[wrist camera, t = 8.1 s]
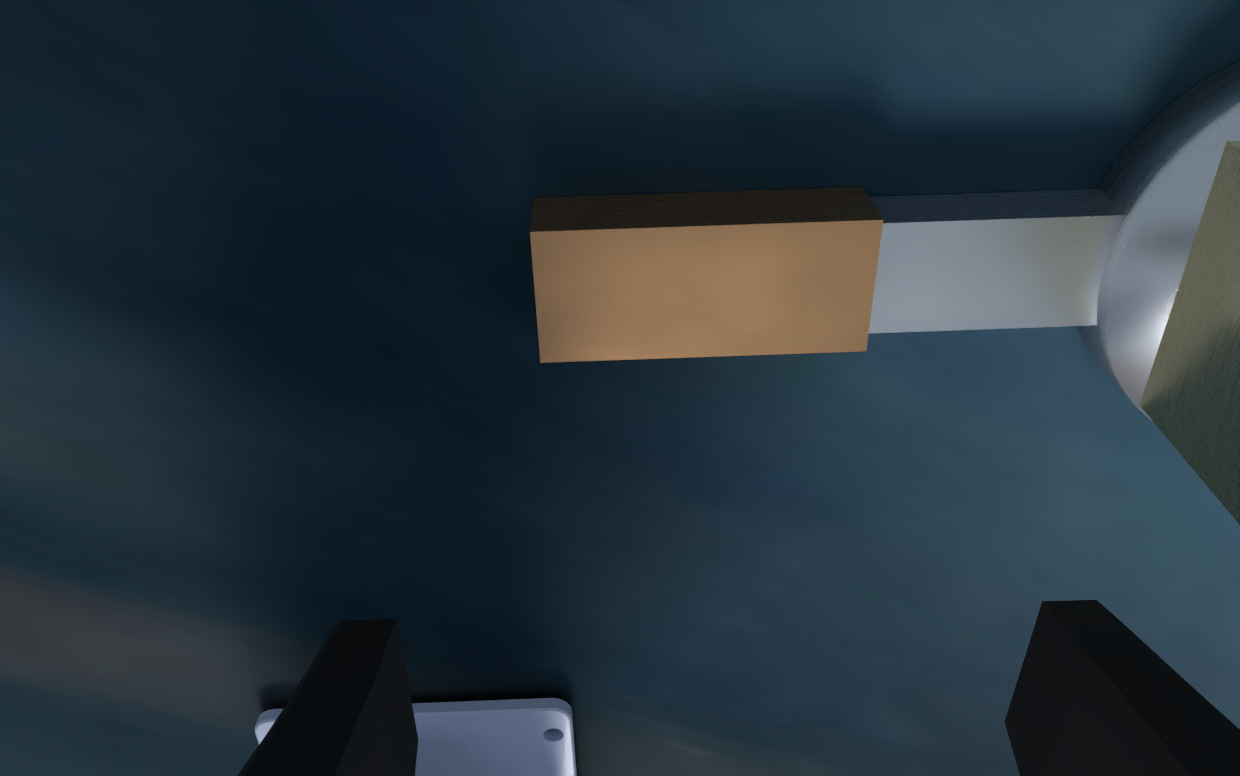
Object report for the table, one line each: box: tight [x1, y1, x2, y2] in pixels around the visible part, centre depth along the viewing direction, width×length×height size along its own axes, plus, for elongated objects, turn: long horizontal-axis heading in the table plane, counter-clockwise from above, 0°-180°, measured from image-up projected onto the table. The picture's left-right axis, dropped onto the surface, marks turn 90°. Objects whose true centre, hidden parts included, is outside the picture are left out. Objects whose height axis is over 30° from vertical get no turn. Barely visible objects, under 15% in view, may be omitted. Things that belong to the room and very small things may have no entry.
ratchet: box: [530, 60, 1240, 420], centre depth 17 cm, size 18×8×5 cm, turn 91°
